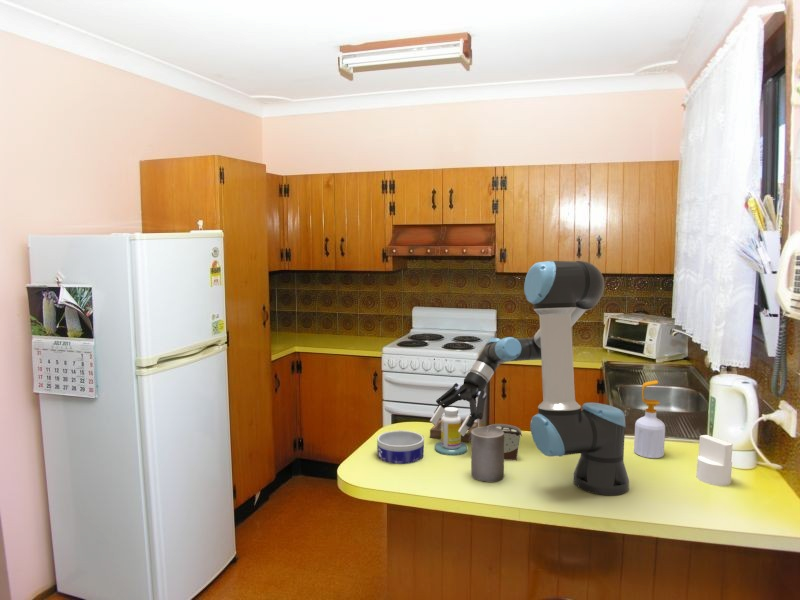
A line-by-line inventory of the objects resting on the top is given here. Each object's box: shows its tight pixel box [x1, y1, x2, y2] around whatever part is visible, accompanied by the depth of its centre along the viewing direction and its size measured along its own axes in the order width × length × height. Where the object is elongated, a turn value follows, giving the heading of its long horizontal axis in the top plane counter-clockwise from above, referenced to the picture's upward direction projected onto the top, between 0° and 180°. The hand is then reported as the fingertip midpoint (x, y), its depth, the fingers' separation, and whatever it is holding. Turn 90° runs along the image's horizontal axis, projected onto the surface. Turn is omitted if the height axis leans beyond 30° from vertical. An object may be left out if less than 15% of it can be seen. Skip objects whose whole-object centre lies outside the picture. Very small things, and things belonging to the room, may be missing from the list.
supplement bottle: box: [440, 406, 462, 449], centre depth 193 cm, size 7×7×13 cm
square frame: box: [429, 418, 479, 444], centre depth 209 cm, size 14×14×3 cm
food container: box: [487, 423, 523, 461], centre depth 188 cm, size 12×6×10 cm, turn 84°
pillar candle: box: [470, 425, 505, 483], centre depth 172 cm, size 10×10×15 cm
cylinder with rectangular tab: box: [695, 434, 734, 487], centre depth 170 cm, size 9×9×12 cm
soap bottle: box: [633, 379, 666, 459], centre depth 189 cm, size 9×9×25 cm
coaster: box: [434, 441, 468, 456], centre depth 194 cm, size 11×11×1 cm
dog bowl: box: [376, 430, 425, 465], centre depth 189 cm, size 15×15×6 cm
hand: (446, 428), depth 192 cm, fingers open, 13 cm apart
